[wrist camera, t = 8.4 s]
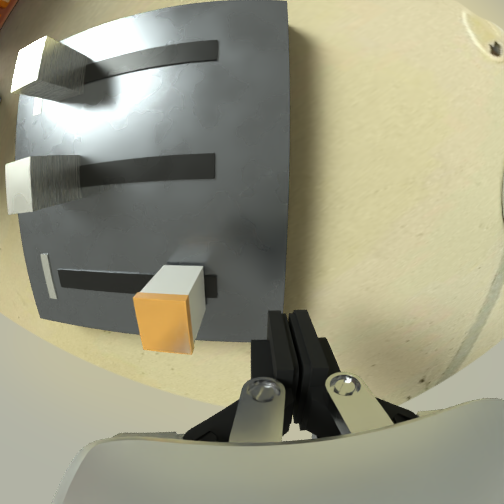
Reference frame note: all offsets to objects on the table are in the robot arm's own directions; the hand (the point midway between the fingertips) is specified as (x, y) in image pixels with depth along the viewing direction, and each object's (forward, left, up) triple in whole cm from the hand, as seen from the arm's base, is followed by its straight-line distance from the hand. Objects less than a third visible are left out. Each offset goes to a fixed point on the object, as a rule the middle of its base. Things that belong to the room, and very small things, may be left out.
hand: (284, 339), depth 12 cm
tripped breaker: (+6, 0, -5) cm, 7 cm away
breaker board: (+10, -7, -8) cm, 14 cm away
